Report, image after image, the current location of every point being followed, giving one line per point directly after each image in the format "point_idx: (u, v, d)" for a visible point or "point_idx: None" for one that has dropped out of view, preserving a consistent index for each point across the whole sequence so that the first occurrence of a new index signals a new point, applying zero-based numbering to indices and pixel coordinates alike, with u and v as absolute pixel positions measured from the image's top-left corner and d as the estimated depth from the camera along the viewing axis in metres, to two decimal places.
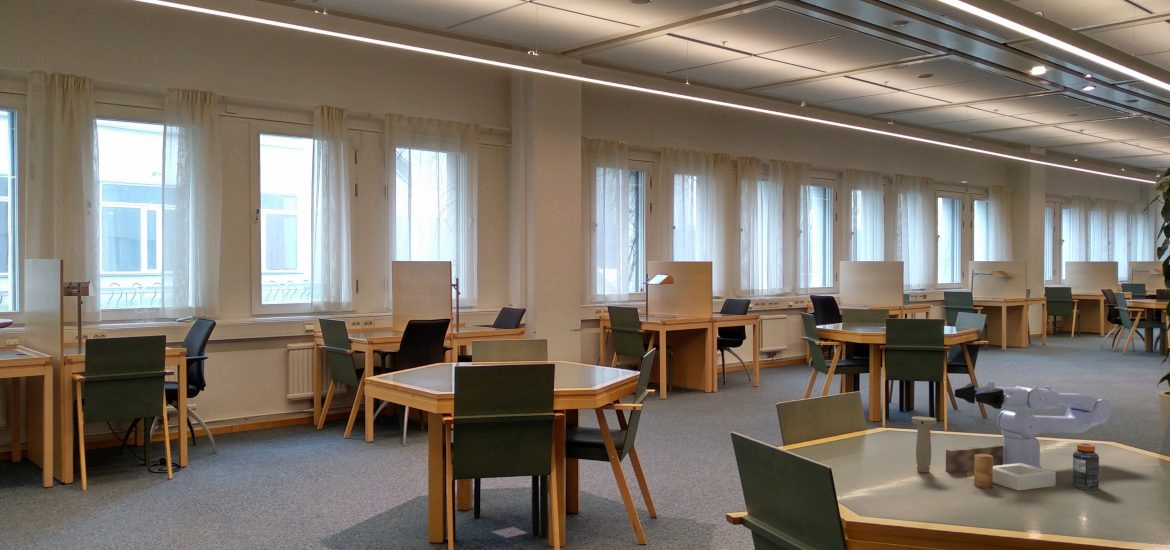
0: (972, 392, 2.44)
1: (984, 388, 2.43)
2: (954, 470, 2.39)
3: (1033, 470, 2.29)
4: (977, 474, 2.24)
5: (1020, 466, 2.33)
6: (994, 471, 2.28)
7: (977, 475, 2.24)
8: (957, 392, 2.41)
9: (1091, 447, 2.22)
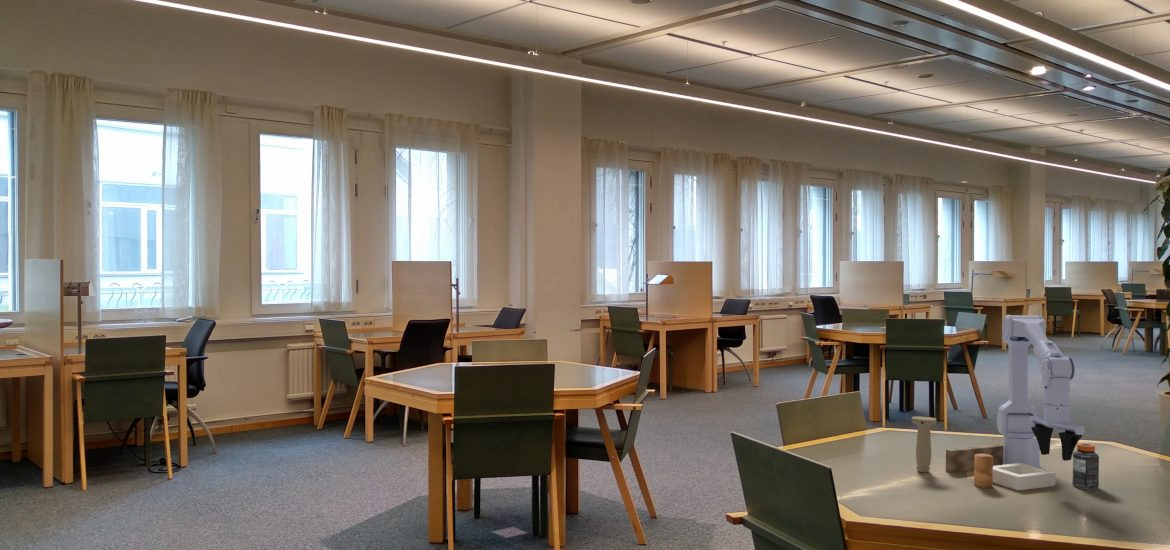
0: (1044, 431, 2.21)
1: None
2: (954, 470, 2.39)
3: (1033, 470, 2.29)
4: (977, 474, 2.24)
5: (1020, 466, 2.33)
6: (994, 471, 2.28)
7: (977, 475, 2.24)
8: (1045, 453, 2.21)
9: (1091, 447, 2.22)
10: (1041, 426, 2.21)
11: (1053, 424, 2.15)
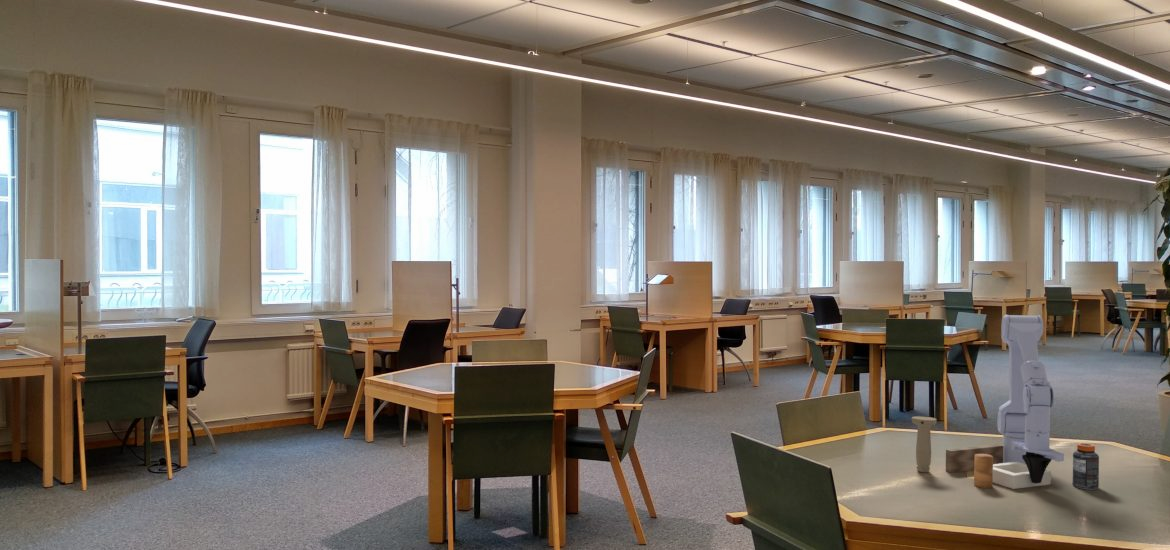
0: None
1: None
2: (954, 470, 2.39)
3: None
4: (977, 474, 2.24)
5: (1015, 465, 2.35)
6: None
7: (977, 475, 2.24)
8: None
9: (1091, 447, 2.22)
10: (1032, 454, 2.24)
11: (1033, 451, 2.21)
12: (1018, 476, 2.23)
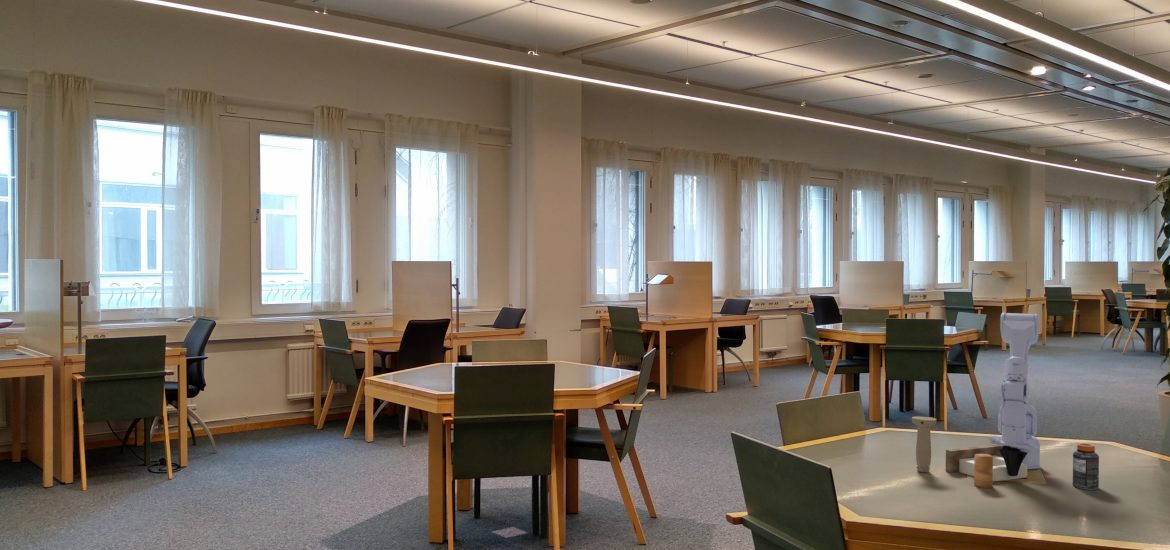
0: None
1: None
2: (954, 470, 2.39)
3: None
4: (977, 474, 2.24)
5: (994, 458, 2.41)
6: (968, 463, 2.37)
7: (977, 475, 2.24)
8: None
9: (1091, 447, 2.22)
10: (1008, 448, 2.31)
11: (1010, 444, 2.28)
12: (995, 469, 2.30)
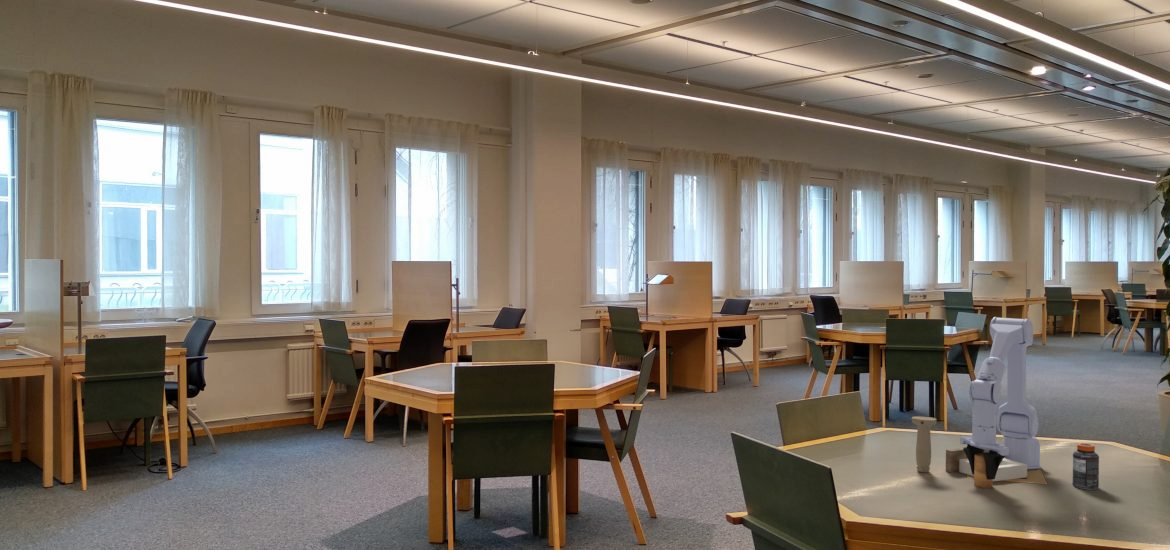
0: (975, 452, 2.27)
1: None
2: (954, 470, 2.39)
3: (1006, 462, 2.38)
4: (977, 474, 2.24)
5: None
6: (968, 463, 2.37)
7: (977, 475, 2.24)
8: None
9: (1091, 447, 2.22)
10: (972, 447, 2.28)
11: (980, 445, 2.23)
12: None
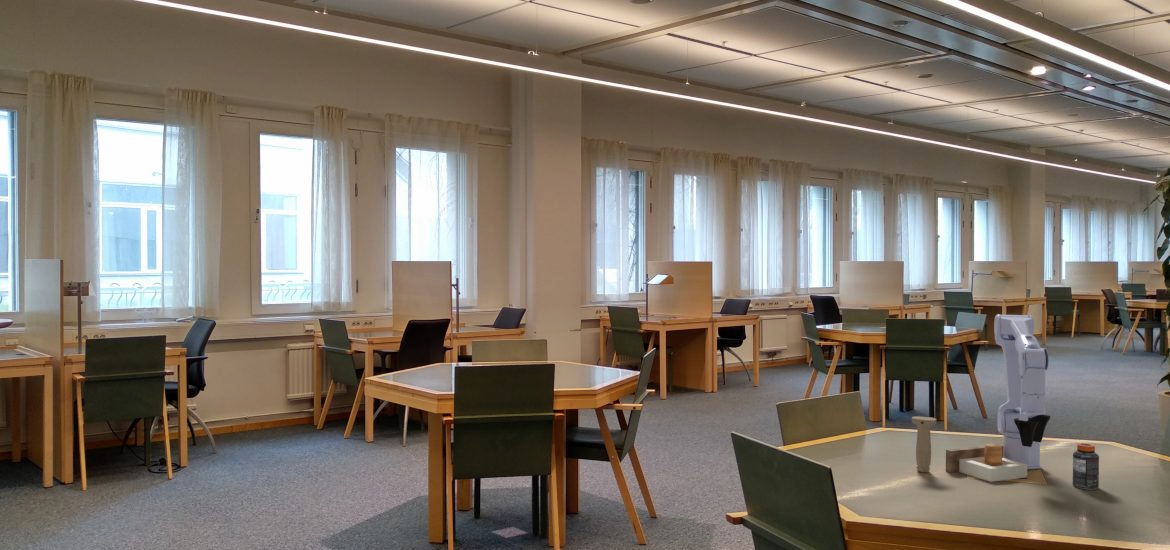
0: (1035, 419, 2.31)
1: None
2: (954, 470, 2.39)
3: (1006, 462, 2.38)
4: None
5: None
6: (968, 463, 2.37)
7: None
8: (1035, 440, 2.31)
9: (1091, 447, 2.22)
10: None
11: (1019, 410, 2.29)
12: (995, 469, 2.30)
